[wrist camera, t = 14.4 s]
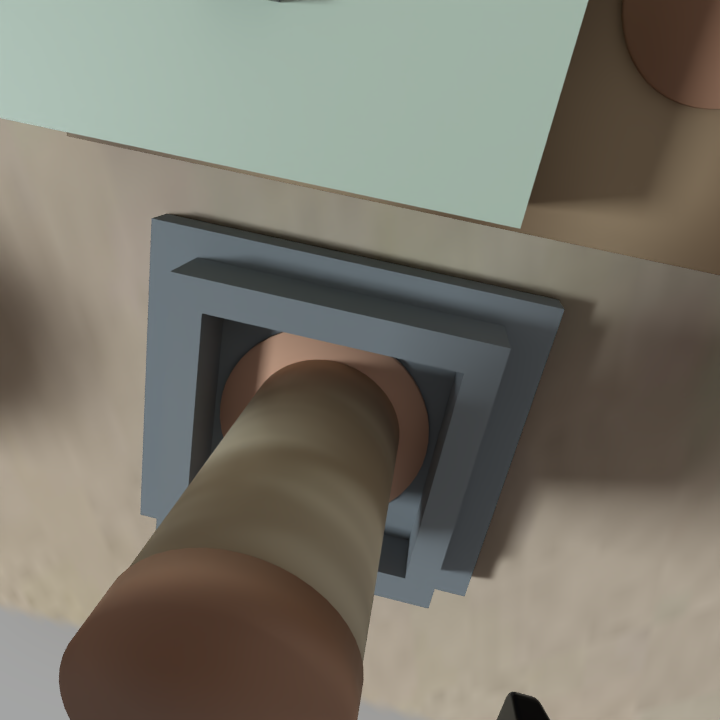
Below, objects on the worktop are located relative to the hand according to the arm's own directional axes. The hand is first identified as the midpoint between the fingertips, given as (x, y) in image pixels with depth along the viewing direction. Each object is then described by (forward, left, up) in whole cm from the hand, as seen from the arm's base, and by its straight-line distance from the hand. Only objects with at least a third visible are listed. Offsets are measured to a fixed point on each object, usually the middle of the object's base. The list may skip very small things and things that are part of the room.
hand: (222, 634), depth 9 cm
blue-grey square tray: (0, 0, -8) cm, 8 cm away
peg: (0, 0, -7) cm, 7 cm away
